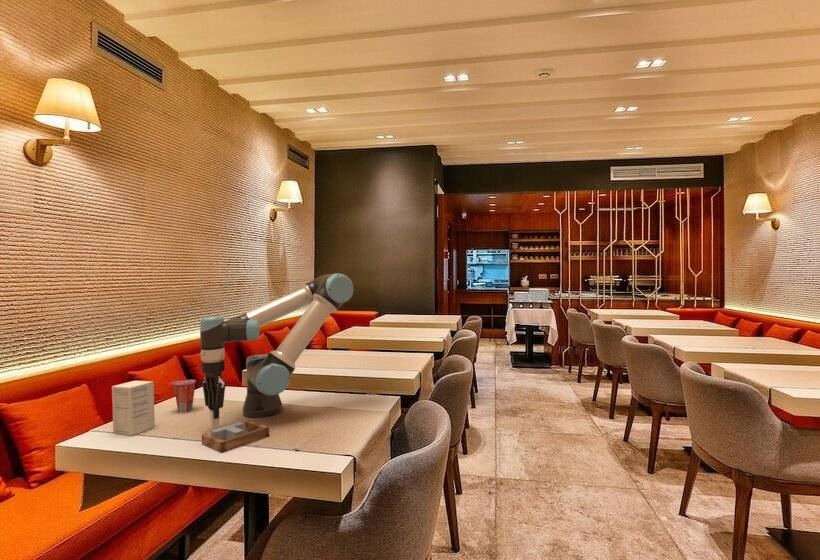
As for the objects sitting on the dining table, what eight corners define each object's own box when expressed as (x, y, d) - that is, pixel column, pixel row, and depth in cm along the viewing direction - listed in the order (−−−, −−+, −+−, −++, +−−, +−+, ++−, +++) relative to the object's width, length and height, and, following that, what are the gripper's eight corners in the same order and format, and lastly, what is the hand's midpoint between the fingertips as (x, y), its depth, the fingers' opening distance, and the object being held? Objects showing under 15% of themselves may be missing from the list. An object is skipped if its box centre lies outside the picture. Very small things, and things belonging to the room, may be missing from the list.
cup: (192, 406, 180) (192, 378, 180) (199, 410, 174) (199, 381, 174) (168, 411, 173) (167, 382, 173) (174, 416, 167) (173, 385, 167)
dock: (201, 444, 138) (201, 434, 138) (249, 428, 151) (249, 420, 151) (221, 452, 130) (221, 443, 130) (269, 435, 144) (269, 427, 144)
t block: (211, 441, 140) (210, 430, 140) (238, 431, 148) (238, 422, 148) (225, 447, 135) (225, 436, 135) (253, 437, 143) (253, 427, 143)
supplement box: (155, 427, 155) (154, 381, 155) (131, 436, 146) (130, 387, 146) (136, 424, 158) (135, 379, 158) (112, 433, 149) (111, 385, 149)
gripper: (193, 360, 150) (194, 426, 150) (212, 364, 143) (214, 434, 143) (213, 357, 156) (215, 420, 156) (233, 360, 149) (234, 427, 149)
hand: (214, 427), depth 150 cm, fingers closed
